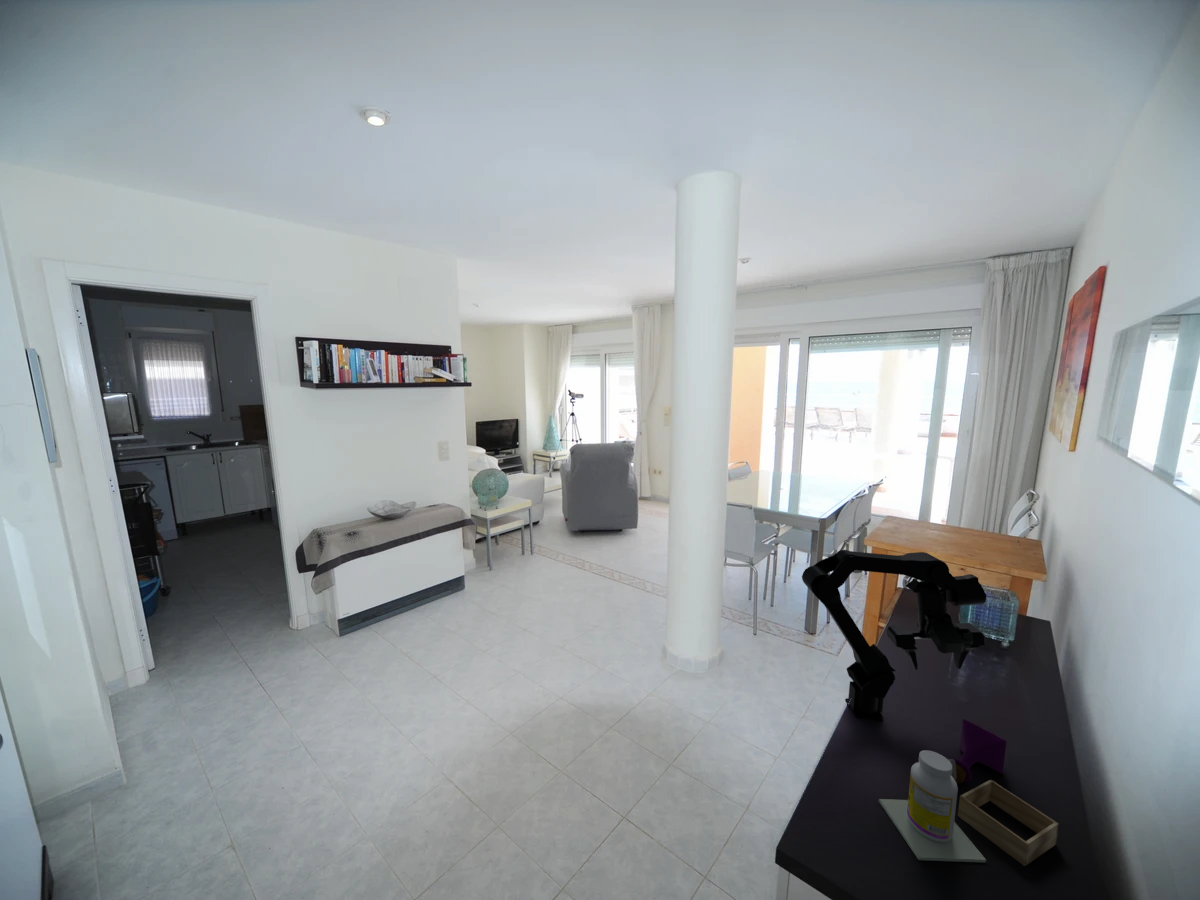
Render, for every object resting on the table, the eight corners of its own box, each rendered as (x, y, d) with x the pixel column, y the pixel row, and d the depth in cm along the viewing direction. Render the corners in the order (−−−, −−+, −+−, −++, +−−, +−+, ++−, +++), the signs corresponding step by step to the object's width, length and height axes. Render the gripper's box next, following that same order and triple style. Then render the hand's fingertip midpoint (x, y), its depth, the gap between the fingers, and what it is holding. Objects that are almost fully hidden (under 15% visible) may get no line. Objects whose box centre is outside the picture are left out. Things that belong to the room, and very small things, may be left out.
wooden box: (1024, 866, 73) (1027, 844, 73) (957, 815, 82) (959, 795, 82) (1055, 844, 77) (1058, 823, 77) (988, 798, 86) (990, 779, 86)
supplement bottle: (919, 804, 84) (926, 741, 83) (960, 835, 78) (968, 767, 77) (898, 818, 81) (904, 752, 80) (938, 851, 75) (946, 781, 74)
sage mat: (918, 860, 74) (919, 857, 74) (878, 801, 85) (879, 799, 85) (985, 862, 74) (986, 859, 74) (937, 803, 85) (937, 801, 85)
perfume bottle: (1009, 768, 94) (968, 805, 85) (966, 744, 100) (924, 776, 91) (1013, 735, 93) (972, 769, 84) (969, 713, 99) (927, 743, 91)
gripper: (905, 625, 101) (910, 690, 102) (1000, 621, 97) (1004, 689, 98) (883, 603, 111) (888, 662, 113) (968, 599, 108) (972, 660, 109)
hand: (936, 668), depth 108 cm, fingers open, 9 cm apart
